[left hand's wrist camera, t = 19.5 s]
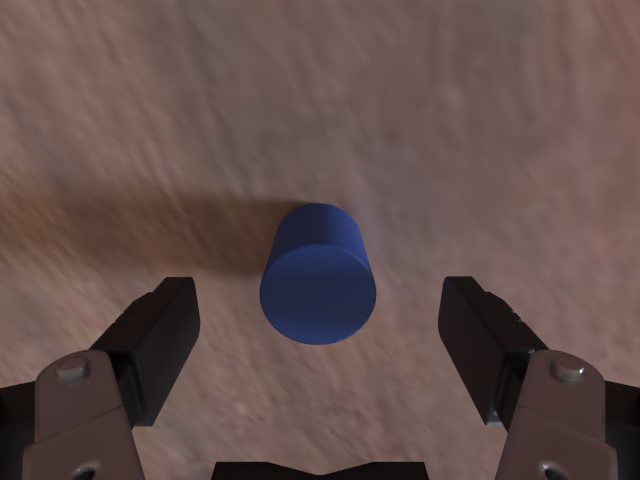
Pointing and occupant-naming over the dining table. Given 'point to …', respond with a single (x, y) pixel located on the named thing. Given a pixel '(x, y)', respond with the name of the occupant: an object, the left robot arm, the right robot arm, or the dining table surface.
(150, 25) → the dining table surface
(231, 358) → the dining table surface
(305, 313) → the can
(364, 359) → the dining table surface
